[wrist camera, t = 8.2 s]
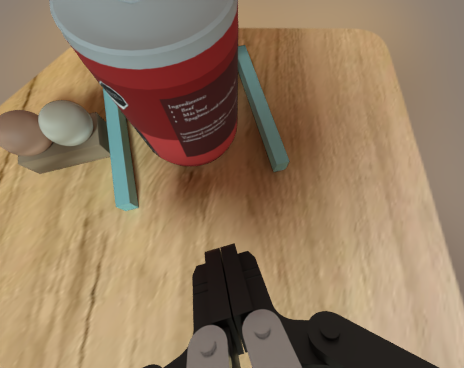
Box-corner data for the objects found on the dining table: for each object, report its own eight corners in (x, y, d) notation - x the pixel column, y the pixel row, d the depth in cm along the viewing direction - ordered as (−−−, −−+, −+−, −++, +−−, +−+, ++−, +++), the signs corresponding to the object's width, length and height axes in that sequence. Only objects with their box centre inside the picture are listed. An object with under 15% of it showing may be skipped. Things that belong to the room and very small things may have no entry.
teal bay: (125, 211, 18) (115, 206, 16) (110, 89, 21) (101, 76, 20) (285, 169, 19) (289, 161, 17) (244, 58, 22) (244, 44, 21)
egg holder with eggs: (38, 175, 19) (-25, 148, 14) (38, 141, 20) (-21, 106, 15) (114, 156, 19) (75, 124, 15) (110, 124, 20) (73, 85, 16)
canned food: (156, 89, 21) (80, -75, 11) (242, 96, 21) (247, -67, 10) (136, 164, 19) (13, 46, 9) (232, 174, 19) (226, 63, 8)
